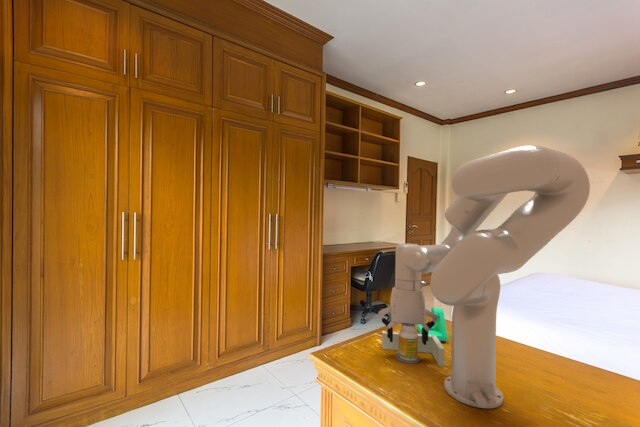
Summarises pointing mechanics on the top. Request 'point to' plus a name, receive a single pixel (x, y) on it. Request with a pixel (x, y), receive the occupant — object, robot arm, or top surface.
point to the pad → (405, 360)
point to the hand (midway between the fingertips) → (407, 341)
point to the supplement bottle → (408, 342)
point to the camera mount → (437, 325)
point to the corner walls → (430, 347)
